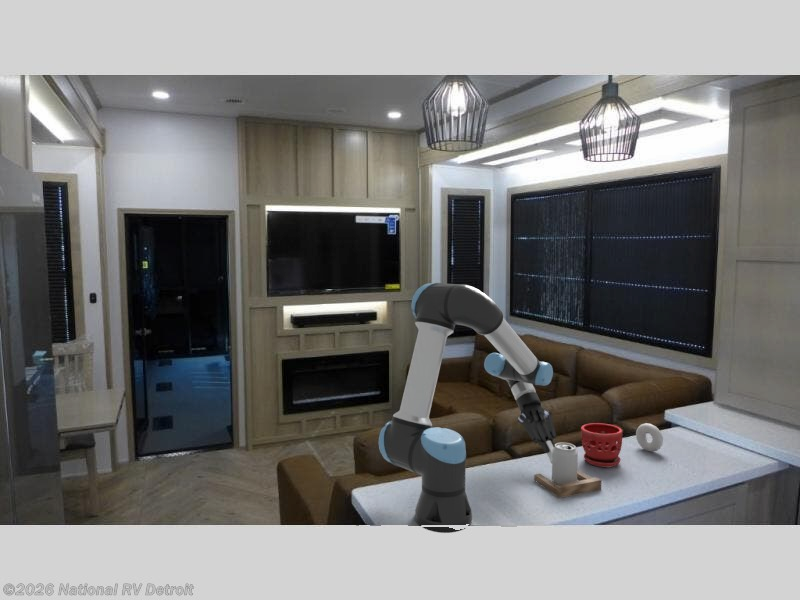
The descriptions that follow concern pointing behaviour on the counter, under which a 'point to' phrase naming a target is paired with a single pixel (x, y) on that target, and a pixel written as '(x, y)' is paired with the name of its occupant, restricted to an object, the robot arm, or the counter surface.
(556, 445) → the can
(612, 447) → the plant pot
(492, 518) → the counter surface
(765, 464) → the counter surface
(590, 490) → the walnut frame
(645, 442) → the donut
